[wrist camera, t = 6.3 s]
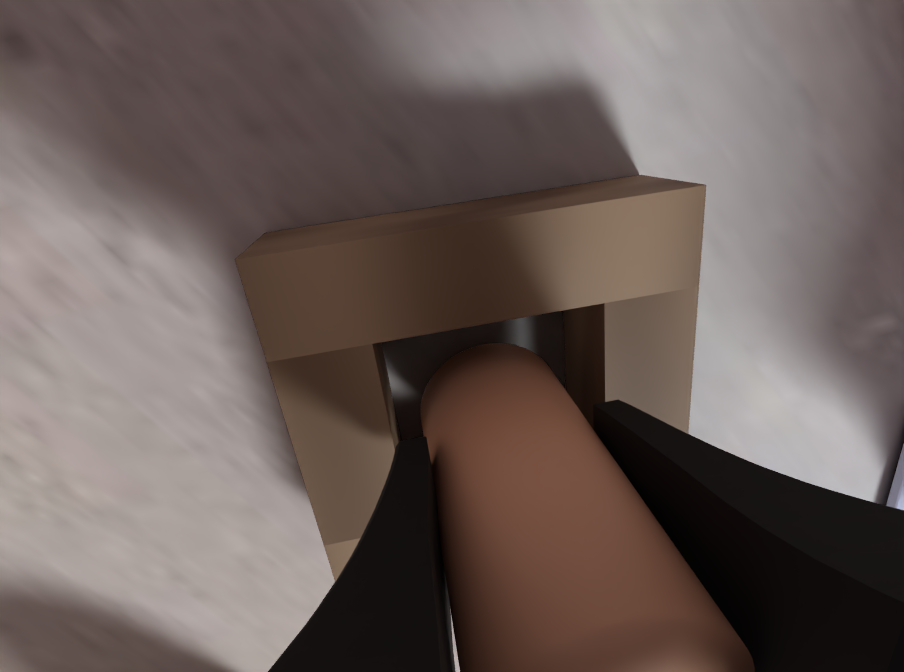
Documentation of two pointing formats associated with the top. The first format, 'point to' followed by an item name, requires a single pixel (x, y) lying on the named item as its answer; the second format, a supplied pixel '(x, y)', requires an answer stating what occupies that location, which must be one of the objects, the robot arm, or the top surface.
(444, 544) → the peg
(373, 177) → the top surface
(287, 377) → the socket
